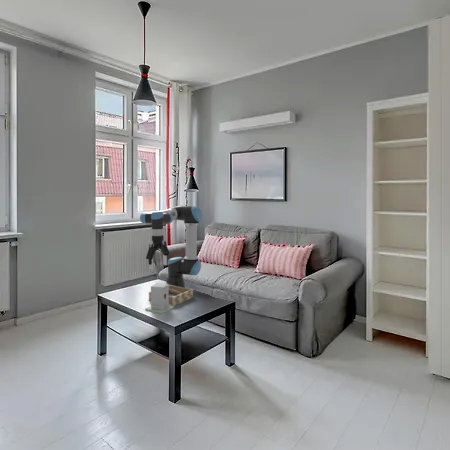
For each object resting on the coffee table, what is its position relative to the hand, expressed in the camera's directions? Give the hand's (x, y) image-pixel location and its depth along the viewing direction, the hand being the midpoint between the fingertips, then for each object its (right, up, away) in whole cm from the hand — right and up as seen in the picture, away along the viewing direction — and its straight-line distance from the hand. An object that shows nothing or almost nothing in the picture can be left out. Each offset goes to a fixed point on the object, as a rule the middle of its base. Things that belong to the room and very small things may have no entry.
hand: (158, 267), depth 226 cm
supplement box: (+1, -26, -2) cm, 26 cm away
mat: (+1, -27, -2) cm, 27 cm away
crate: (+6, -25, +19) cm, 32 cm away
